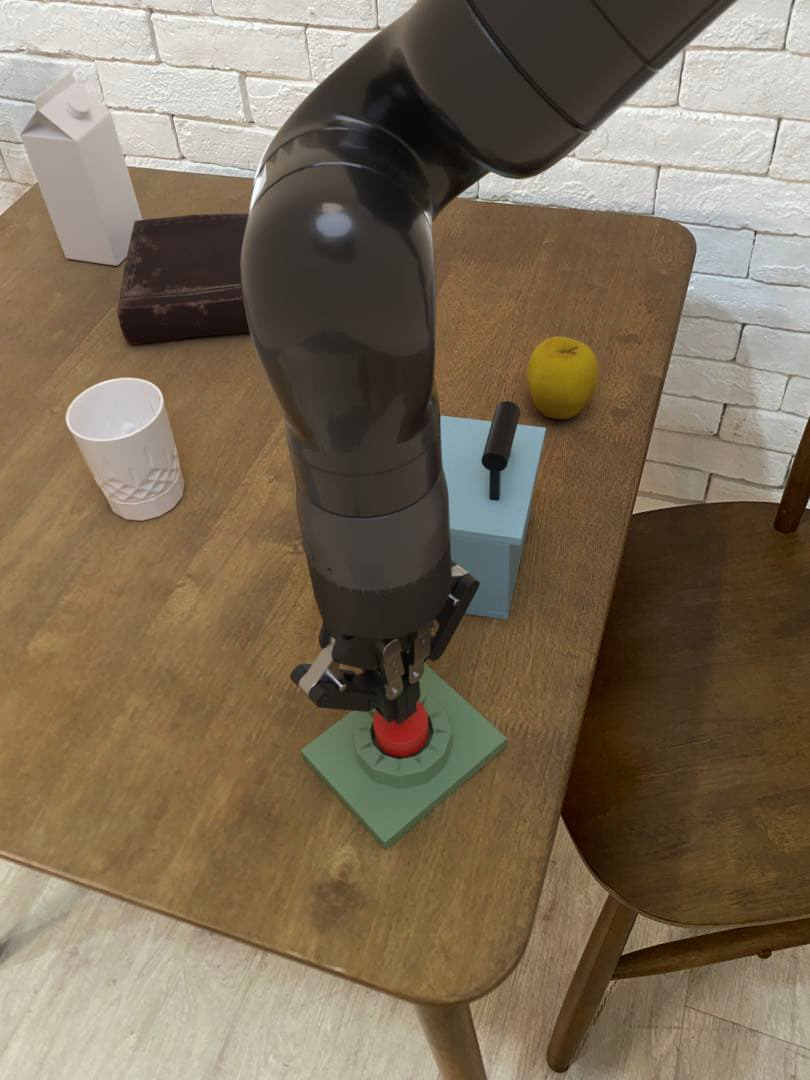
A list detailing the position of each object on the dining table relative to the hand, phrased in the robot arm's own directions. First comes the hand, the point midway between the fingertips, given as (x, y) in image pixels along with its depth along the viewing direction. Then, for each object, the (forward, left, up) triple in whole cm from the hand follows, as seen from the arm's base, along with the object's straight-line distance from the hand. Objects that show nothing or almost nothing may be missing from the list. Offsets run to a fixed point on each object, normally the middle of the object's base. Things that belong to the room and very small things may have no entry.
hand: (398, 709), depth 61 cm
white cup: (0, -35, -6) cm, 36 cm away
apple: (-34, -17, -6) cm, 39 cm away
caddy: (-14, -12, -6) cm, 19 cm away
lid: (-14, -12, +3) cm, 19 cm away
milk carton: (-18, -75, -6) cm, 77 cm away
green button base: (0, 0, -6) cm, 6 cm away
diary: (-25, -55, -6) cm, 61 cm away
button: (0, 0, -3) cm, 3 cm away
